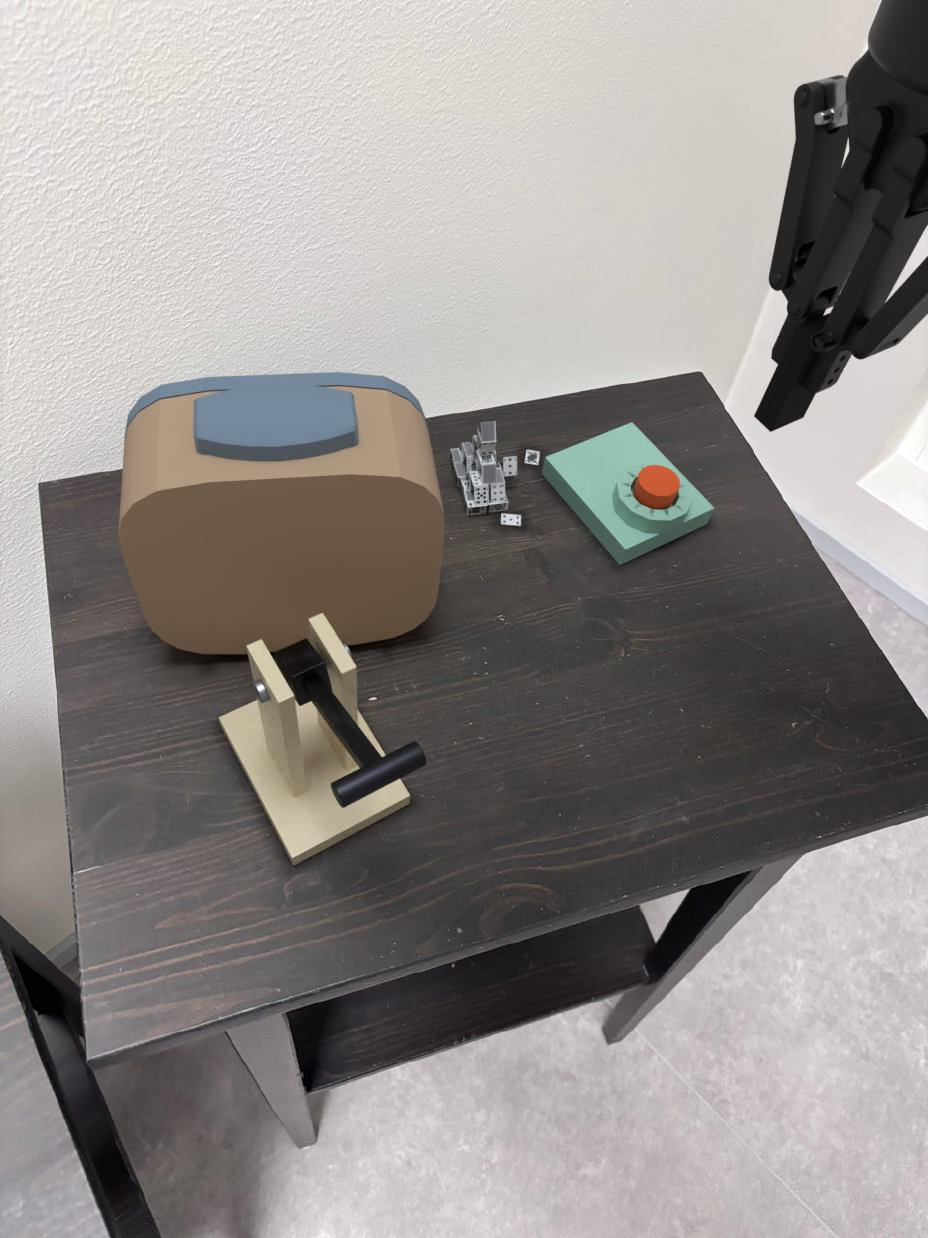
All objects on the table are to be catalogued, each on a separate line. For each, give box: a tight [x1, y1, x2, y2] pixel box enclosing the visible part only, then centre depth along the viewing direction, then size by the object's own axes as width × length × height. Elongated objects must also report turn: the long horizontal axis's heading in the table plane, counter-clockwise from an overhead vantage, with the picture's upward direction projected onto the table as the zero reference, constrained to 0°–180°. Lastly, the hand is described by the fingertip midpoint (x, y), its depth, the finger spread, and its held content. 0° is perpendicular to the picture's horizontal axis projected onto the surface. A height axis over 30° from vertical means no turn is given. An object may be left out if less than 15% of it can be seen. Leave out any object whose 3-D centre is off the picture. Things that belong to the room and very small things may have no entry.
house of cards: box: [448, 420, 541, 527], centre depth 79 cm, size 9×9×8 cm
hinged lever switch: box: [218, 613, 411, 867], centre depth 60 cm, size 12×9×15 cm
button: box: [633, 465, 680, 509], centre depth 78 cm, size 4×4×2 cm
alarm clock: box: [117, 371, 446, 655], centre depth 64 cm, size 21×10×22 cm, turn 99°
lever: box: [273, 638, 427, 808], centre depth 52 cm, size 12×5×2 cm, turn 32°
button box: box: [541, 421, 715, 566], centre depth 81 cm, size 12×10×4 cm
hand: (778, 416), depth 55 cm, fingers closed
